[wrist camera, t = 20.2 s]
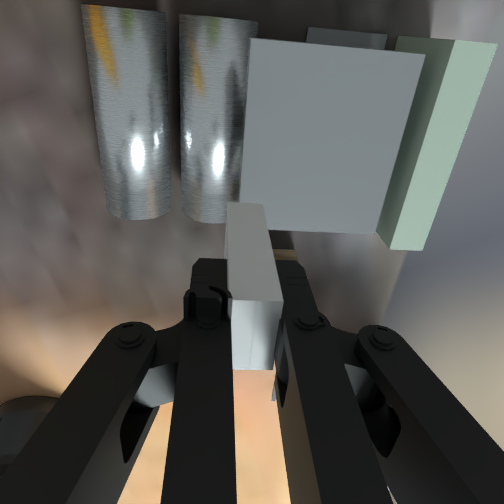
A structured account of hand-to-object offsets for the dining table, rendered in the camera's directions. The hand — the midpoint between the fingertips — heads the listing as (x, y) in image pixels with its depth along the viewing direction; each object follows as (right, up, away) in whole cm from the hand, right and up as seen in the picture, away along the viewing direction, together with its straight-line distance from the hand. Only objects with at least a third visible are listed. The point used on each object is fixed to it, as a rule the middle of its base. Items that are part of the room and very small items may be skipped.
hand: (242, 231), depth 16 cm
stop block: (+14, +11, +21) cm, 27 cm away
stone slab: (+6, +8, +14) cm, 17 cm away
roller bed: (-6, +12, +19) cm, 23 cm away
